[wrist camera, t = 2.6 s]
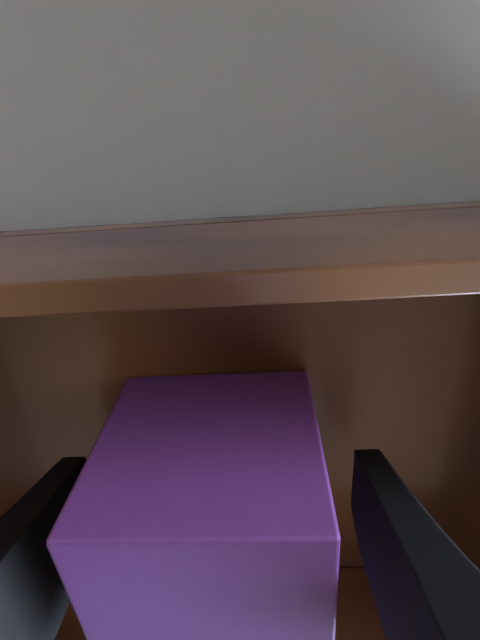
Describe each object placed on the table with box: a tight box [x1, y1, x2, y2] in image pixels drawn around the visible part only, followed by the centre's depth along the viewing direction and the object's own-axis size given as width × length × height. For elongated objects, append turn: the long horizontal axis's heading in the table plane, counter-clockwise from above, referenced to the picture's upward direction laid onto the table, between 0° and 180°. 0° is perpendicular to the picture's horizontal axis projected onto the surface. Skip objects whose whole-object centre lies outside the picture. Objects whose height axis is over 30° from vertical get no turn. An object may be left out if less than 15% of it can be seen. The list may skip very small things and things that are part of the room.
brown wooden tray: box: [0, 201, 480, 640], centre depth 11 cm, size 18×13×4 cm
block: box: [46, 371, 341, 640], centre depth 10 cm, size 5×5×5 cm
